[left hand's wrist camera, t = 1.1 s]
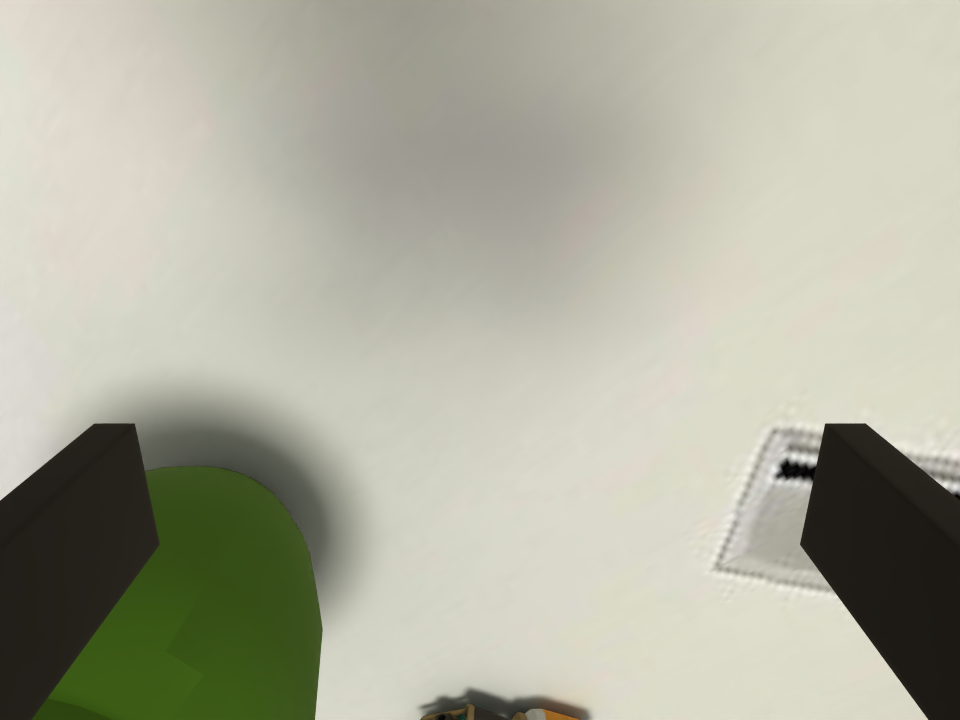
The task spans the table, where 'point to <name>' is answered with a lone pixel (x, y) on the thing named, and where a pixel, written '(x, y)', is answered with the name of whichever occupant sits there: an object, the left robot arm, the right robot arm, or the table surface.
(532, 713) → the spray gun
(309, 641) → the vase
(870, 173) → the table surface
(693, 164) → the table surface
